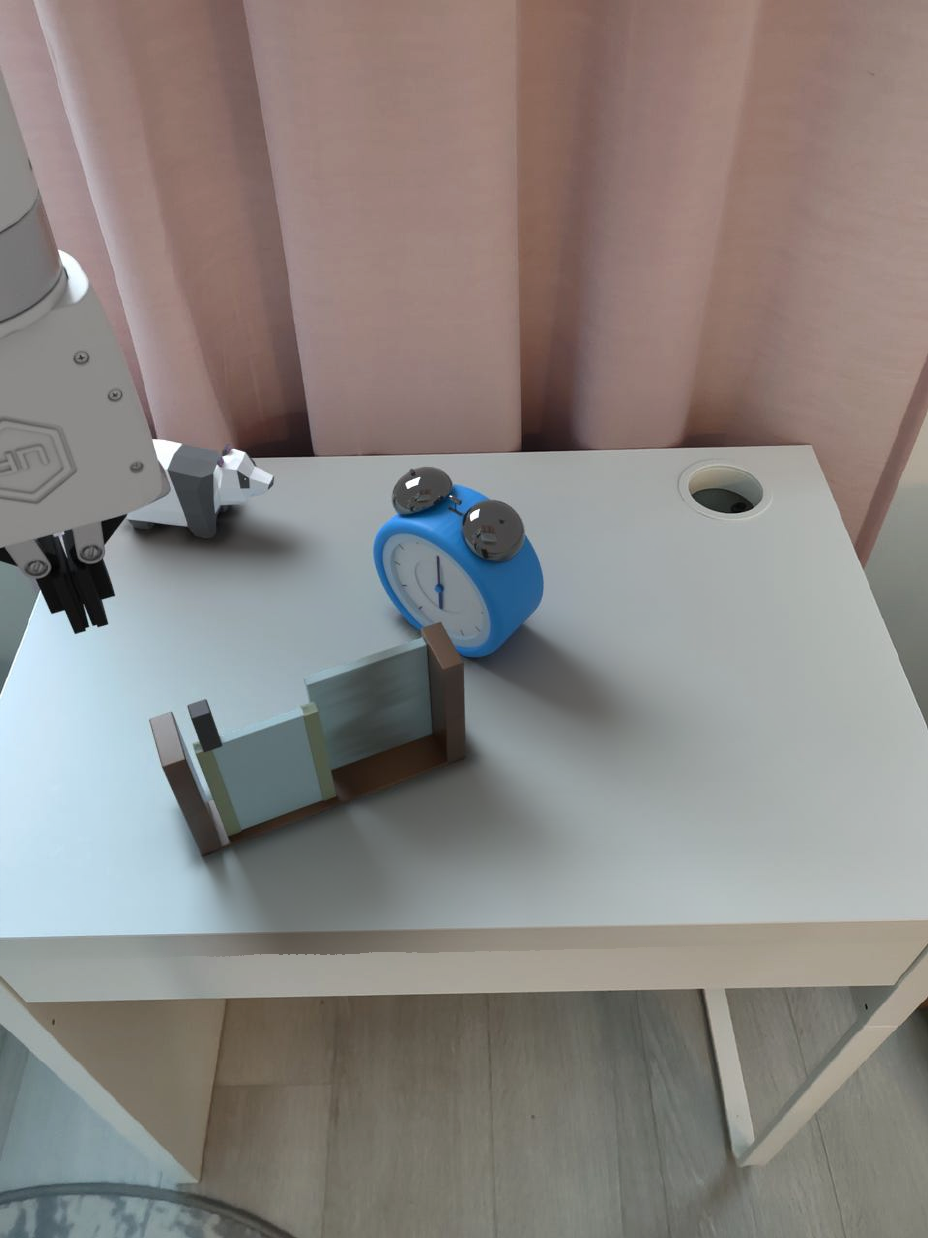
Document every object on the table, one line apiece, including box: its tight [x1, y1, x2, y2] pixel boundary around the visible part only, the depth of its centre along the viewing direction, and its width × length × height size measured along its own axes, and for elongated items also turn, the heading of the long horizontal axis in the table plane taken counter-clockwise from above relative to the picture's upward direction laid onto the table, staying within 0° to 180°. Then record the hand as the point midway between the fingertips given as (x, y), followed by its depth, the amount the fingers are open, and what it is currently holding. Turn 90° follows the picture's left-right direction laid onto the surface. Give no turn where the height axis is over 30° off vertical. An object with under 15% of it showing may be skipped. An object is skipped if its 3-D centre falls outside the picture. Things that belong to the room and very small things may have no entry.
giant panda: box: [125, 438, 275, 539], centre depth 89 cm, size 15×6×10 cm, turn 80°
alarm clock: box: [372, 466, 545, 658], centre depth 78 cm, size 13×6×15 cm, turn 51°
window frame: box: [148, 622, 467, 858], centre depth 69 cm, size 20×4×12 cm, turn 113°
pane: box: [186, 698, 336, 836], centre depth 66 cm, size 8×1×14 cm, turn 113°
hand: (86, 609), depth 49 cm, fingers closed
